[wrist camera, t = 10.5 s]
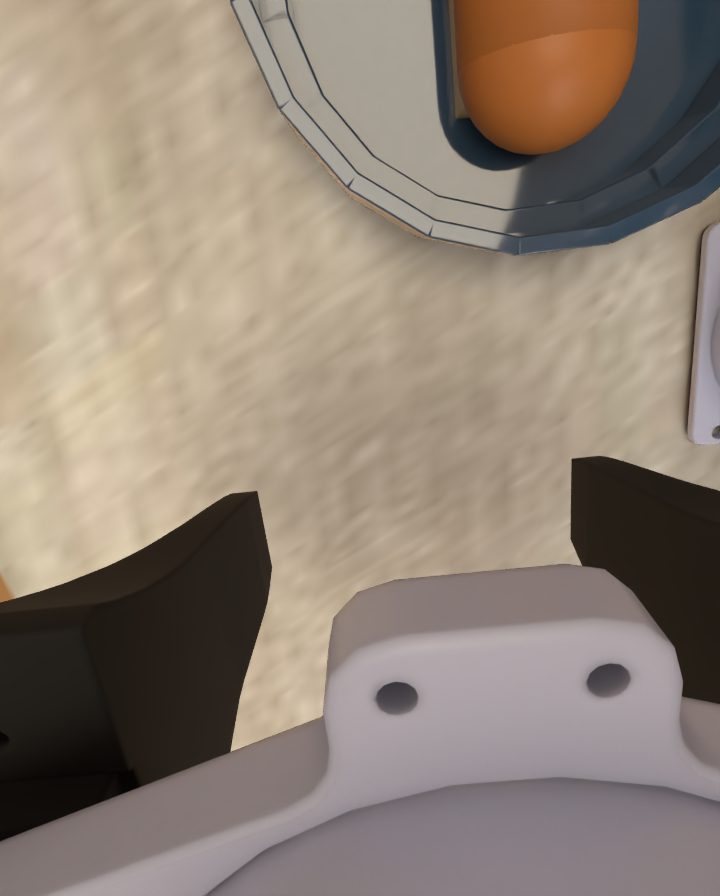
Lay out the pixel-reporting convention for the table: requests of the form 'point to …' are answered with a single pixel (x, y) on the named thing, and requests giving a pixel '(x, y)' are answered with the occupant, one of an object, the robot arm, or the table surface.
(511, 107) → the bun
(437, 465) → the table surface
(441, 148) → the bowl
